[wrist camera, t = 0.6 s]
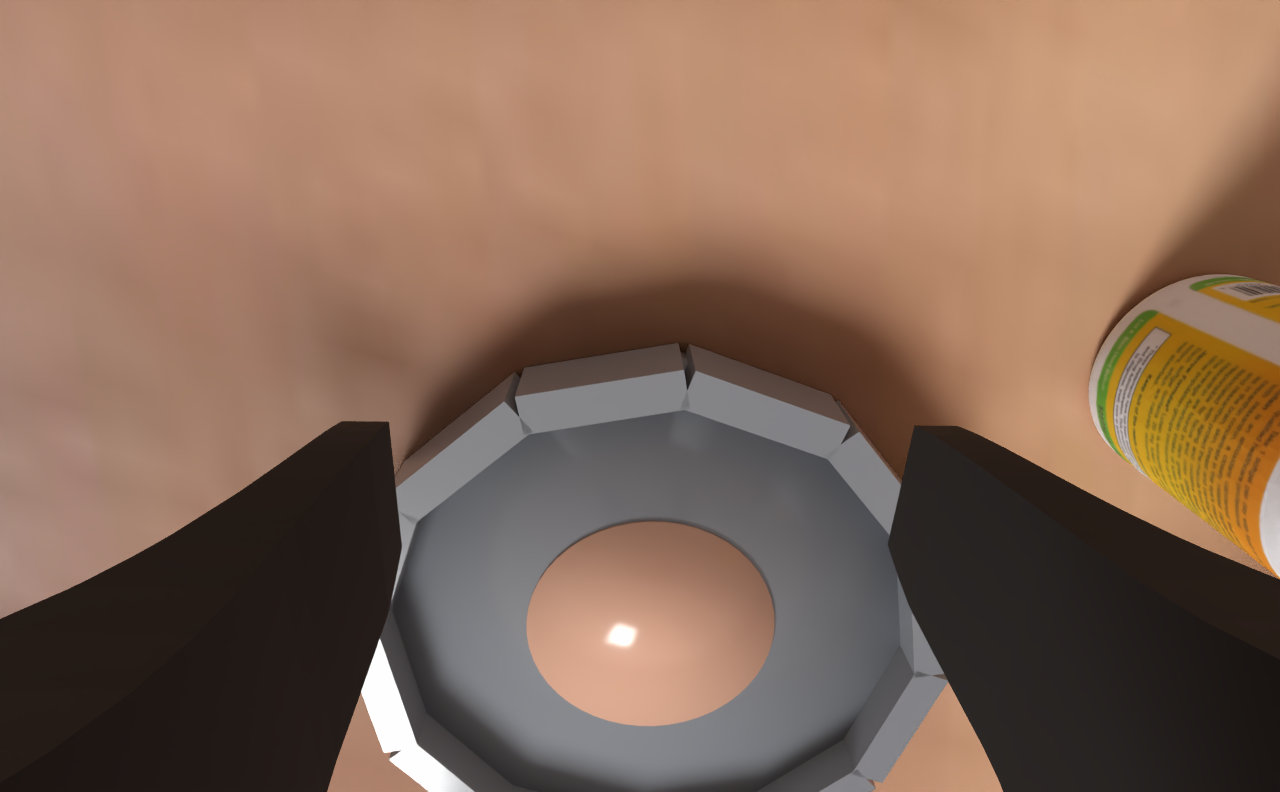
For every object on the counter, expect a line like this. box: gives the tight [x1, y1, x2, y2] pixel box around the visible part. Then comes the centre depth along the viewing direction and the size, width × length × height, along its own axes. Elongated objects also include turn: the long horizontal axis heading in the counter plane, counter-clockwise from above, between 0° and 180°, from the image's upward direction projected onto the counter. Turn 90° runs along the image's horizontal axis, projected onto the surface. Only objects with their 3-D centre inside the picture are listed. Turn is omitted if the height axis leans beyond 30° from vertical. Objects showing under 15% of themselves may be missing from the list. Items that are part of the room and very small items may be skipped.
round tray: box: [361, 343, 948, 792], centre depth 23 cm, size 16×16×2 cm
